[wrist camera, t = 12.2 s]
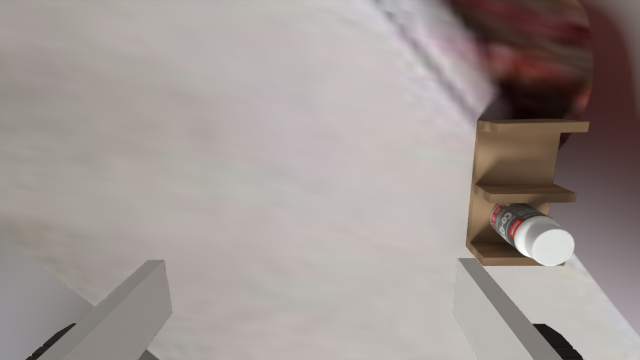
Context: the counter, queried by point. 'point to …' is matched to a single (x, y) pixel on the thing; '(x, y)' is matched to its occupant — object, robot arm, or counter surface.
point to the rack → (513, 180)
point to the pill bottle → (532, 233)
